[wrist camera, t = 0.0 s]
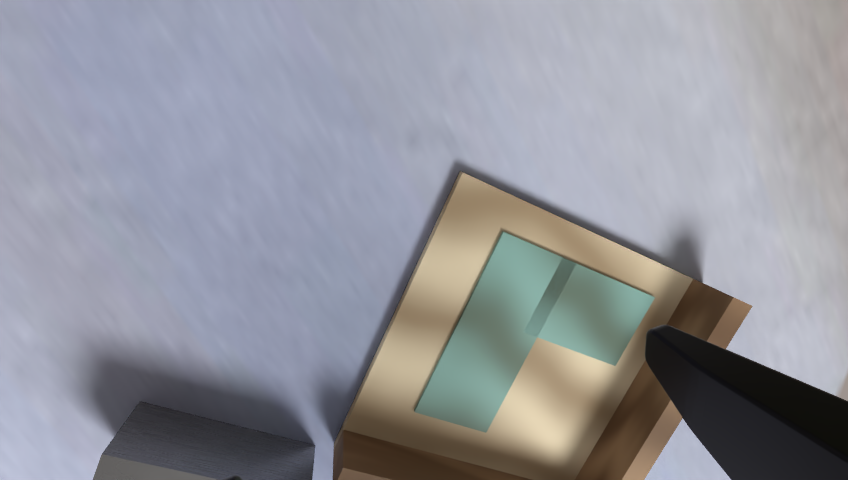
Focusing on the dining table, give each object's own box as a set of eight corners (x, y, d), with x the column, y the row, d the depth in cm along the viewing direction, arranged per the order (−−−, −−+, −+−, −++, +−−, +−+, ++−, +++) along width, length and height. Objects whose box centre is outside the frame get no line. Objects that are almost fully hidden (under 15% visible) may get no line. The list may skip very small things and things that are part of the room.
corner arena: (572, 503, 32) (599, 550, 28) (333, 443, 27) (332, 490, 23) (703, 283, 28) (752, 305, 25) (460, 171, 24) (479, 180, 20)
